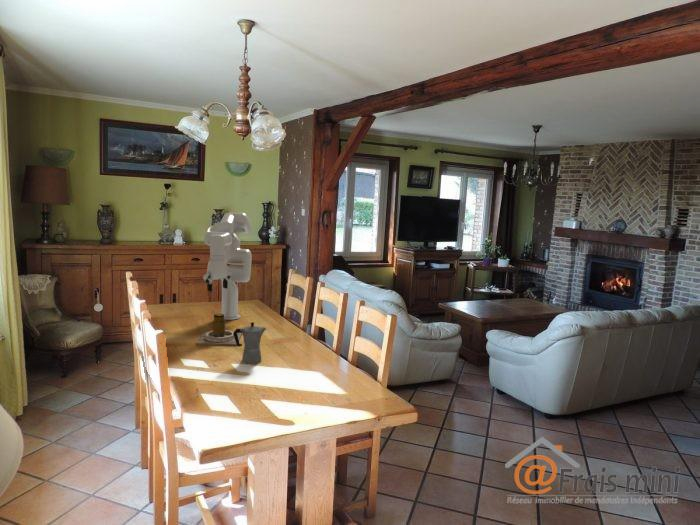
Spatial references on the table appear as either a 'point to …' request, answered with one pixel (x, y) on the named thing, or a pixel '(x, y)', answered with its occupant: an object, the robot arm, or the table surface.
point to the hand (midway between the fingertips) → (217, 289)
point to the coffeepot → (250, 342)
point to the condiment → (219, 326)
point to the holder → (218, 339)
